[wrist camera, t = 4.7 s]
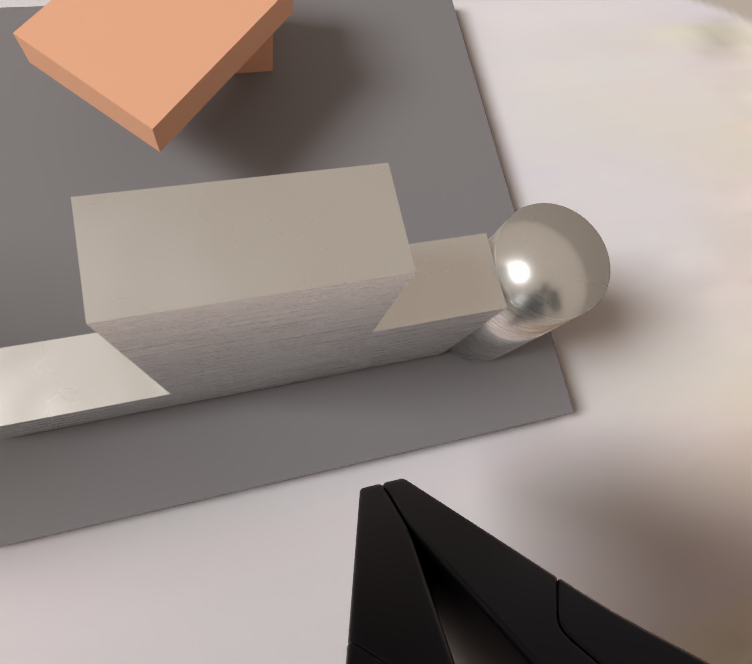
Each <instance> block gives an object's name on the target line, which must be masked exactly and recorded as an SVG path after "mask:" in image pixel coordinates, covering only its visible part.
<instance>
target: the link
mask: <svg viewBox="0 0 752 664" xmlns="http://www.w3.org/2000/svg"><path fill="white" fill-rule="evenodd" d="M71 203H72V211H73V219H74V228H75V236H76V244H77V253H78V261H79V269H80V278H81V286H82V294H83V303H84V311H85V319H86V324H87V325H88V326H89V327H91V328H92V329H93V330H94V331H95V332H97V333H91V334H85V335H78V336H72V337H66V338H60V339H54V340H47V341H41V342H35V343H29V344H22V345H16V346H10V347H4V348H0V440H1V439H6V438H11V437H16V436H21V435H26V434H31V433H37V432H42V431H47V430H52V429H57V428H62V427H68V426H73V425H78V424H83V423H88V422H93V421H98V420H104V419H109V418H114V417H119V416H124V415H129V414H135V413H140V412H145V411H150V410H155V409H160V408H165V407H171V406H176V405H181V404H186V403H191V402H196V401H202V400H207V399H212V398H217V397H222V396H227V395H232V394H238V393H243V392H248V391H253V390H258V389H263V388H269V387H274V386H279V385H284V384H289V383H294V382H299V381H305V380H310V379H315V378H320V377H325V376H330V375H336V374H341V373H346V372H351V371H356V370H361V369H366V368H372V367H377V366H382V365H387V364H392V363H397V362H403V361H408V360H413V359H418V358H423V357H428V356H433V355H439V354H442V353H444V352H445V351H447V350H448V349H449V350H450V351H451V352H453V353H454V354H455V355H457V356H459V357H461V358H463V359H465V360H469V361H474V362H486V361H491V360H494V359H496V358H499V357H501V356H503V355H504V354H506V353H508V352H510V351H512V350H514V349H516V348H518V347H520V346H522V345H524V344H526V343H528V342H530V341H532V340H534V339H536V338H538V337H540V336H541V335H543V334H545V333H547V332H549V331H551V330H553V329H555V328H557V327H559V326H561V325H563V324H565V323H567V322H569V321H571V320H573V319H575V318H577V317H578V316H580V315H582V314H584V313H586V312H588V311H589V310H591V309H592V308H593V307H594V306H596V305H597V304H598V302H599V301H600V300H601V299H602V297H603V295H604V294H605V292H606V289H607V287H608V283H609V278H610V262H609V256H608V252H607V249H606V247H605V244H604V242H603V240H602V238H601V237H600V235H599V234H598V232H597V231H596V230H595V228H594V227H593V226H592V225H591V224H590V223H589V222H588V221H587V220H586V219H585V218H583V217H582V216H581V215H579V214H578V213H576V212H574V211H573V210H571V209H568V208H566V207H563V206H560V205H556V204H549V203H539V204H533V205H529V206H526V207H523V208H522V209H520V210H518V211H516V212H515V213H514V214H512V215H511V216H510V217H509V218H508V219H507V220H506V221H505V223H504V224H503V225H502V226H501V227H500V228H499V229H498V230H497V231H496V232H495V233H494V234H493V235H492V236H491V238H490V239H489V240H488V238H487V234H486V233H483V234H476V235H469V236H462V237H455V238H448V239H441V240H434V241H427V242H420V243H413V244H409V243H408V239H407V235H406V231H405V227H404V223H403V219H402V215H401V211H400V207H399V203H398V199H397V195H396V191H395V187H394V183H393V179H392V175H391V171H390V167H389V163H381V164H372V165H362V166H353V167H344V168H334V169H325V170H316V171H307V172H297V173H288V174H279V175H270V176H260V177H251V178H242V179H232V180H223V181H214V182H205V183H195V184H186V185H177V186H168V187H158V188H149V189H140V190H130V191H121V192H112V193H103V194H93V195H84V196H75V197H71Z"/></svg>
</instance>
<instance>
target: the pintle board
mask: <svg viewBox="0 0 752 664" xmlns="http://www.w3.org/2000/svg"><path fill="white" fill-rule="evenodd" d="M381 163H389V167H390V171H391V175H392V179H393V183H394V187H395V191H396V195H397V199H398V203H399V207H400V211H401V215H402V219H403V223H404V227H405V231H406V235H407V239H408V243H409V244H413V243H420V242H427V241H434V240H441V239H448V238H455V237H462V236H469V235H476V234H483V233H486V234H487V238H488V240H489V239H490V238H491V236H492V235H493V234H494V233H495V232H496V231H497V230H498V229H499V228H500V227H501V226H502V225H503V224H504V223H505V221H506V220H507V219H508V218H509V217H510V216H511V215H512V214H514V213H515V212H514V208H513V205H512V201H511V198H510V195H509V191H508V188H507V185H506V181H505V178H504V174H503V171H502V168H501V164H500V161H499V157H498V154H497V151H496V147H495V144H494V141H493V137H492V134H491V130H490V127H489V124H488V120H487V117H486V114H485V110H484V107H483V103H482V100H481V97H480V93H479V90H478V87H477V83H476V80H475V76H474V73H473V70H472V66H471V63H470V60H469V56H468V53H467V49H466V46H465V43H464V39H463V36H462V33H461V29H460V26H459V22H458V19H457V16H456V12H455V9H454V6H453V2H452V0H51V1H50V2H49V3H48V4H47V5H45V6H37V7H9V8H0V348H4V347H10V346H16V345H22V344H29V343H35V342H41V341H47V340H54V339H60V338H66V337H72V336H78V335H85V334H91V333H97V332H95V331H94V330H93V329H92V328H91V327H89V326H88V325H87V324H86V319H85V311H84V303H83V294H82V286H81V278H80V269H79V261H78V253H77V244H76V236H75V228H74V219H73V211H72V203H71V197H75V196H84V195H93V194H103V193H112V192H121V191H130V190H140V189H149V188H158V187H168V186H177V185H186V184H195V183H205V182H214V181H223V180H232V179H242V178H251V177H260V176H270V175H279V174H288V173H297V172H307V171H316V170H325V169H334V168H344V167H353V166H362V165H372V164H381ZM571 413H574V411H573V407H572V404H571V401H570V397H569V394H568V391H567V387H566V384H565V380H564V377H563V374H562V370H561V367H560V363H559V360H558V357H557V353H556V350H555V347H554V343H553V340H552V336H551V333H550V331H549V332H547V333H545V334H543V335H541V336H540V337H538V338H536V339H534V340H532V341H530V342H528V343H526V344H524V345H522V346H520V347H518V348H516V349H514V350H512V351H510V352H508V353H506V354H504V355H503V356H501V357H499V358H496V359H494V360H491V361H486V362H474V361H469V360H465V359H463V358H461V357H459V356H457V355H455V354H454V353H453V352H451V351H450V350H449V349H448V350H447V351H445V352H444V353H442V354H439V355H433V356H428V357H423V358H418V359H413V360H408V361H403V362H397V363H392V364H387V365H382V366H377V367H372V368H366V369H361V370H356V371H351V372H346V373H341V374H336V375H330V376H325V377H320V378H315V379H310V380H305V381H299V382H294V383H289V384H284V385H279V386H274V387H269V388H263V389H258V390H253V391H248V392H243V393H238V394H232V395H227V396H222V397H217V398H212V399H207V400H202V401H196V402H191V403H186V404H181V405H176V406H171V407H165V408H160V409H155V410H150V411H145V412H140V413H135V414H129V415H124V416H119V417H114V418H109V419H104V420H98V421H93V422H88V423H83V424H78V425H73V426H68V427H62V428H57V429H52V430H47V431H42V432H37V433H31V434H26V435H21V436H16V437H11V438H6V439H1V440H0V547H1V546H5V545H9V544H14V543H18V542H22V541H27V540H31V539H35V538H39V537H44V536H48V535H52V534H57V533H61V532H65V531H69V530H74V529H78V528H82V527H87V526H91V525H95V524H99V523H104V522H108V521H112V520H117V519H121V518H125V517H129V516H134V515H138V514H142V513H147V512H151V511H155V510H159V509H164V508H168V507H172V506H177V505H181V504H185V503H189V502H194V501H198V500H202V499H207V498H211V497H215V496H219V495H224V494H228V493H232V492H237V491H241V490H245V489H249V488H254V487H258V486H262V485H267V484H271V483H275V482H279V481H284V480H288V479H292V478H297V477H301V476H305V475H309V474H314V473H318V472H322V471H327V470H331V469H335V468H339V467H344V466H348V465H352V464H357V463H361V462H365V461H369V460H374V459H378V458H382V457H387V456H391V455H395V454H399V453H404V452H408V451H412V450H417V449H421V448H425V447H429V446H434V445H438V444H442V443H447V442H451V441H455V440H459V439H464V438H468V437H472V436H477V435H481V434H485V433H489V432H494V431H498V430H502V429H507V428H511V427H515V426H519V425H524V424H528V423H532V422H537V421H541V420H545V419H549V418H554V417H558V416H562V415H567V414H571Z"/></svg>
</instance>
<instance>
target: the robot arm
mask: <svg viewBox="0 0 752 664" xmlns="http://www.w3.org/2000/svg"><path fill="white" fill-rule="evenodd" d="M346 664H709V663H707V662H706V661H704V660H702V659H700V658H698V657H696V656H694V655H692V654H690V653H689V652H687V651H685V650H683V649H681V648H679V647H677V646H675V645H673V644H672V643H670V642H668V641H666V640H664V639H662V638H660V637H658V636H656V635H654V634H653V633H651V632H649V631H647V630H645V629H643V628H642V627H640V626H638V625H636V624H634V623H633V622H631V621H629V620H627V619H625V618H624V617H622V616H620V615H618V614H616V613H615V612H613V611H611V610H609V609H608V608H606V607H604V606H603V605H601V604H600V603H598V602H596V601H595V600H593V599H591V598H590V597H588V596H586V595H585V594H583V593H582V592H580V591H578V590H577V589H575V588H574V587H572V586H571V585H569V584H568V583H566V582H564V581H563V580H561V579H560V580H558V581H557V578H556V577H555V576H554V575H552V574H551V573H549V572H548V571H546V570H545V569H543V568H542V567H540V566H538V565H537V564H535V563H534V562H532V561H531V560H529V559H528V558H526V557H524V556H523V555H521V554H520V553H518V552H517V551H515V550H514V549H512V548H511V547H509V546H507V545H506V544H504V543H503V542H501V541H500V540H498V539H497V538H495V537H494V536H492V535H490V534H489V533H487V532H486V531H484V530H483V529H481V528H480V527H478V526H477V525H475V524H473V523H472V522H470V521H469V520H467V519H466V518H464V517H463V516H461V515H460V514H458V513H456V512H455V511H453V510H452V509H450V508H449V507H447V506H446V505H444V504H442V503H441V502H439V501H438V500H436V499H435V498H433V497H432V496H430V495H429V494H427V493H425V492H424V491H422V490H421V489H419V488H418V487H416V486H415V485H413V484H412V483H410V482H408V481H407V480H405V479H399V480H394V481H390V482H386V483H385V484H384V485H383V486H382V485H380V484H378V485H374V486H370V487H366V488H362V489H361V491H360V498H359V510H358V523H357V535H356V548H355V561H354V573H353V586H352V598H351V611H350V624H349V636H348V646H347V657H346Z"/></svg>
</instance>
